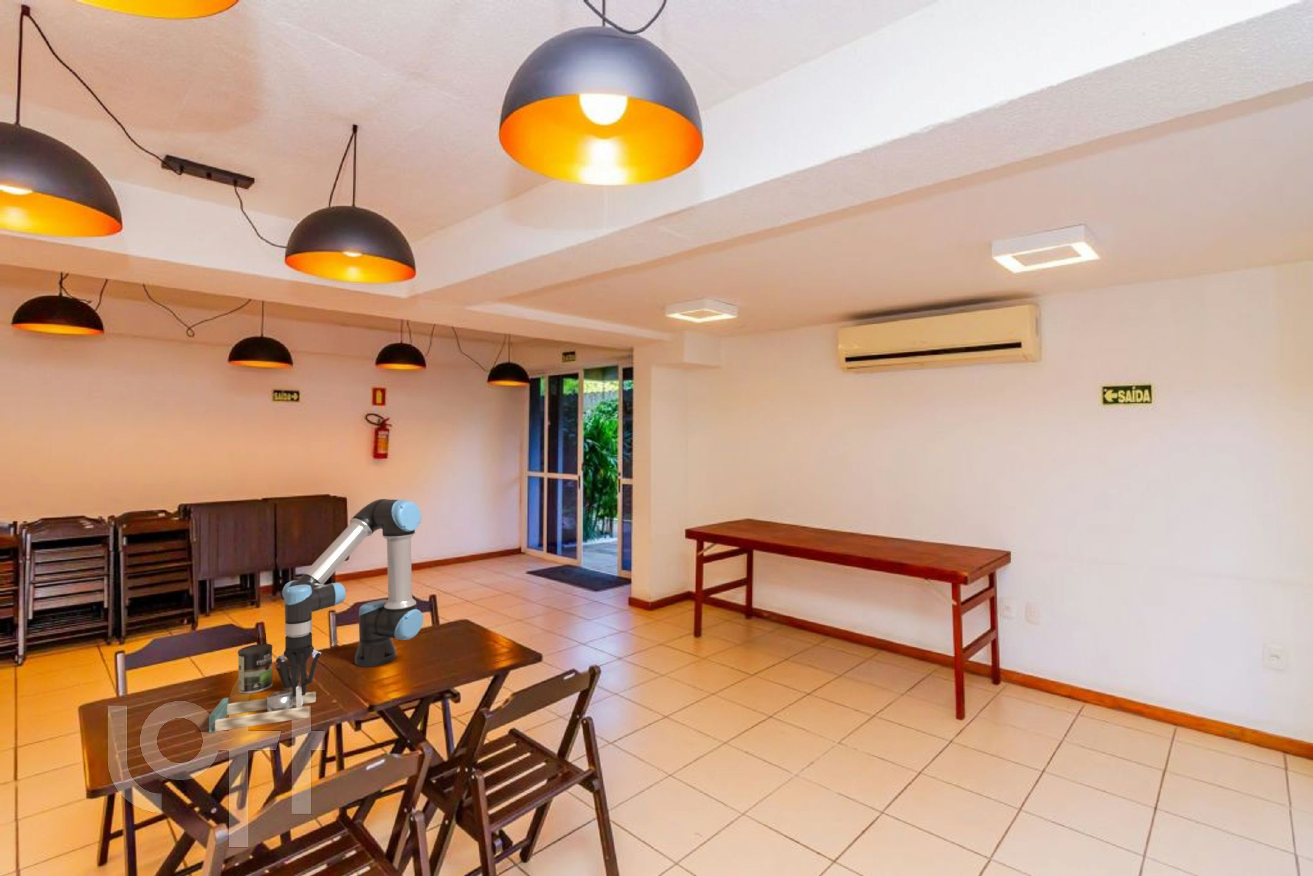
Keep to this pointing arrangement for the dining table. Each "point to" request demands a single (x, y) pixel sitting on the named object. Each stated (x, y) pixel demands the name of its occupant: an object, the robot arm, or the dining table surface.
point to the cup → (289, 674)
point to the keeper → (280, 701)
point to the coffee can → (255, 668)
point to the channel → (224, 708)
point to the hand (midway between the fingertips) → (299, 705)
